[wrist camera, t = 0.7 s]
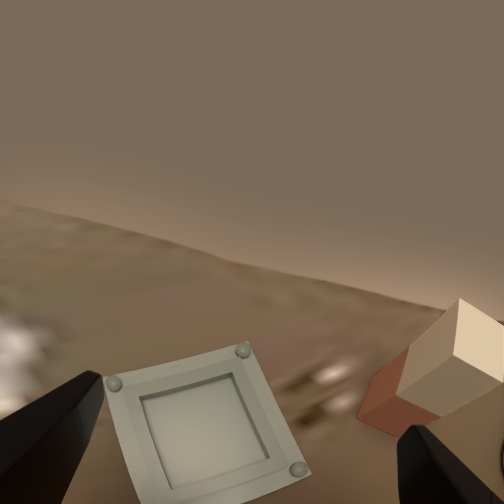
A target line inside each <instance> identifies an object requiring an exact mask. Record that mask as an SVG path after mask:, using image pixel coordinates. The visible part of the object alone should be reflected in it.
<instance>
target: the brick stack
mask: <svg viewBox="0 0 504 504" xmlns="http://www.w3.org/2000/svg"><path fill="white" fill-rule="evenodd" d="M503 376H504V326H503V325H501V324H500V323H498V322H497V321H495V320H494V319H492V318H490V317H489V316H487V315H486V314H484V313H483V312H481V311H479V310H478V309H476V308H475V307H473V306H471V305H470V304H468V303H467V302H465V301H463V300H462V299H460V298H459V299H458V300H457V301H456V302H455V303H454V304H453V305H452V306H451V307H450V308H449V309H448V310H447V311H446V312H445V313H444V314H443V315H442V316H441V317H440V318H439V319H438V320H437V321H436V322H435V323H434V324H433V325H432V326H431V327H430V328H429V329H427V330H426V331H425V332H424V333H423V334H422V335H421V336H420V337H419V338H418V339H417V340H416V341H414V342H413V343H412V344H411V345H410V346H409V347H408V348H407V349H405V350H404V351H403V352H402V353H401V354H400V355H398V356H397V357H396V358H395V359H394V360H393V361H391V362H390V363H389V364H388V365H386V366H385V367H384V368H383V369H382V370H380V371H379V372H378V373H377V374H375V375H374V376H373V377H372V380H371V382H370V385H369V387H368V390H367V393H366V395H365V398H364V400H363V403H362V405H361V408H360V410H359V412H358V415H357V417H356V419H358V420H361V421H363V422H365V423H367V424H369V425H371V426H373V427H375V428H378V429H380V430H382V431H384V432H386V433H389V434H391V435H393V436H396V437H398V436H400V435H403V434H404V433H405V431H406V430H407V429H408V428H409V426H411V425H413V424H422V425H426V424H428V423H430V422H432V421H435V420H437V419H439V418H441V417H443V416H445V415H447V414H449V413H451V412H453V411H455V410H457V409H459V408H460V407H462V406H464V405H466V404H468V403H470V402H471V401H473V400H475V399H477V398H479V397H480V396H482V395H484V394H485V393H487V392H489V391H490V390H492V389H494V388H495V387H497V386H499V385H500V384H502V383H503Z"/></svg>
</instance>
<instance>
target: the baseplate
mask: <svg viewBox="0 0 504 504" xmlns="http://www.w3.org/2000/svg"><path fill="white" fill-rule="evenodd" d="M103 381H104V385H105V390H106V394H107V398H108V403H109V407H110V411H111V414H112V418H113V422H114V426H115V429H116V433H117V436H118V440H119V443H120V446H121V449H122V453H123V456H124V459H125V462H126V465H127V468H128V471H129V474H130V477H131V479H132V482H133V485H134V488H135V490H136V493H137V495H138V498H139V501H140V503H141V504H242V503H245V502H247V501H250V500H253V499H255V498H258V497H261V496H263V495H266V494H268V493H271V492H273V491H276V490H278V489H280V488H283V487H285V486H287V485H290V484H292V483H294V482H296V481H298V480H301V479H303V478H305V477H307V476H309V475H311V472H310V470H309V468H308V466H307V464H306V462H305V460H304V458H303V456H302V454H301V452H300V450H299V448H298V446H297V444H296V442H295V440H294V438H293V436H292V434H291V431H290V429H289V427H288V425H287V423H286V421H285V419H284V417H283V415H282V413H281V411H280V409H279V407H278V405H277V402H276V400H275V398H274V396H273V394H272V392H271V390H270V388H269V385H268V383H267V381H266V379H265V377H264V375H263V373H262V370H261V368H260V366H259V364H258V362H257V360H256V357H255V355H254V353H253V351H252V349H251V346H250V344H249V342H248V341H246V342H241V343H239V344H236V345H233V346H229V347H226V348H222V349H219V350H215V351H211V352H208V353H204V354H200V355H196V356H193V357H189V358H185V359H181V360H177V361H173V362H169V363H165V364H161V365H157V366H152V367H148V368H144V369H139V370H135V371H130V372H126V373H121V374H116V375H110V376H107V377H103Z"/></svg>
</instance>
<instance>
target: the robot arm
mask: <svg viewBox="0 0 504 504" xmlns="http://www.w3.org/2000/svg"><path fill="white" fill-rule="evenodd" d="M103 400H104V387H103V380H102V376H101V375H100V374H99V373H96V372H93V371H90V370H88V371H85V372H83V373H81V374H80V375H78V376H76V377H75V378H73V379H71V380H70V381H68V382H66V383H64V384H63V385H61V386H59V387H58V388H56V389H54V390H52V391H51V392H49V393H47V394H45V395H44V396H42V397H40V398H39V399H37V400H35V401H33V402H32V403H30V404H28V405H26V406H25V407H23V408H21V409H19V410H18V411H16V412H14V413H12V414H11V415H9V416H7V417H5V418H4V419H2V420H0V504H61V503H62V500H63V498H64V496H65V494H66V491H67V489H68V487H69V485H70V482H71V480H72V478H73V476H74V474H75V472H76V469H77V467H78V465H79V463H80V461H81V459H82V457H83V455H84V452H85V450H86V448H87V446H88V444H89V441H90V438H91V435H92V432H93V429H94V426H95V423H96V420H97V417H98V415H99V412H100V409H101V406H102V403H103ZM397 467H398V491H399V500H400V504H504V502H503V501H502V500H501V499H500V498H499V497H498V496H497V495H496V494H495V493H494V492H493V491H490V489H489V488H488V487H487V486H486V485H485V484H484V483H483V482H482V481H481V480H480V479H479V478H478V477H477V476H476V475H475V474H474V473H473V472H472V471H471V470H470V469H469V468H468V467H467V466H466V465H465V464H463V463H462V462H461V461H460V460H459V459H458V458H457V457H456V456H455V455H454V454H453V453H452V452H451V451H450V450H449V449H448V448H447V447H446V446H445V445H444V444H443V443H442V442H441V441H440V440H439V439H438V438H437V437H436V436H435V435H434V434H433V433H432V432H430V431H429V430H428V429H427V428H426V427H425V426H424V425H422V424H413V425H411V426H409V428H408V429H407V430H406V431H405V433H404V434H403V435H402V436H401V438H400V439H399V440H398V443H397Z"/></svg>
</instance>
